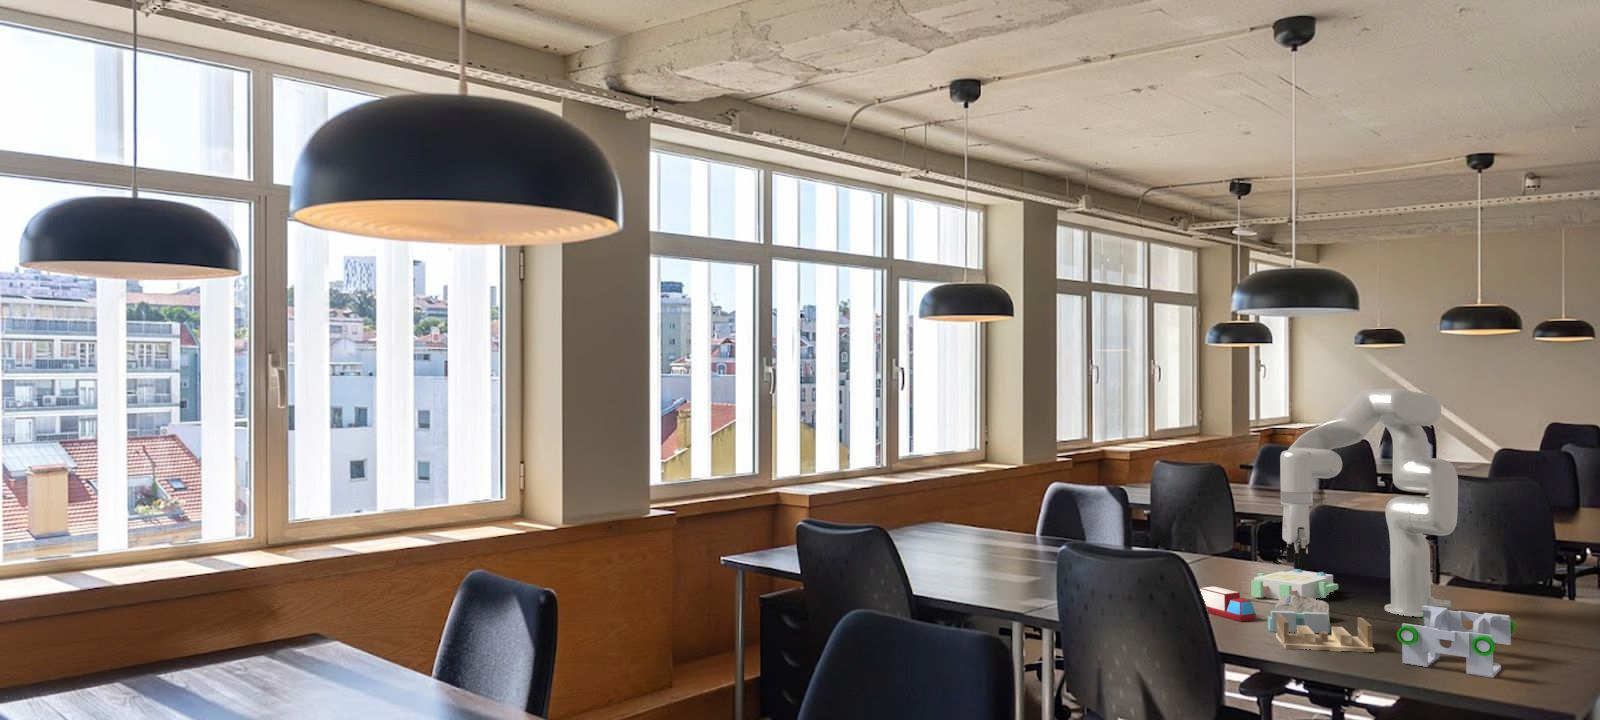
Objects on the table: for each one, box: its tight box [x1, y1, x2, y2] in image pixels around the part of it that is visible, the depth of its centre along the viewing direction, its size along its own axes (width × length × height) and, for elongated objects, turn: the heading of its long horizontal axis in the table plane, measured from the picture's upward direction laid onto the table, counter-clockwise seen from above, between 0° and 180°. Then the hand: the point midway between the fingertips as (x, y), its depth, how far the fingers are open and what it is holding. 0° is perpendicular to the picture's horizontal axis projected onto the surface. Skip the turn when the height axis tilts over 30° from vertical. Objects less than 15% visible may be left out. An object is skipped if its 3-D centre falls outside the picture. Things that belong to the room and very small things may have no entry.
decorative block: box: [1250, 568, 1339, 601], centre depth 324 cm, size 26×6×20 cm
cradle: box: [1275, 614, 1375, 653], centre depth 266 cm, size 19×12×6 cm, turn 77°
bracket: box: [1396, 605, 1516, 679], centre depth 251 cm, size 19×25×10 cm
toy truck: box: [1199, 586, 1257, 623], centre depth 299 cm, size 6×15×7 cm, turn 23°
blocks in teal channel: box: [1267, 610, 1331, 634], centre depth 280 cm, size 14×4×5 cm, turn 77°
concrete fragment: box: [1274, 594, 1330, 621], centre depth 295 cm, size 7×14×6 cm, turn 41°
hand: (1297, 565), depth 281 cm, fingers open, 9 cm apart
